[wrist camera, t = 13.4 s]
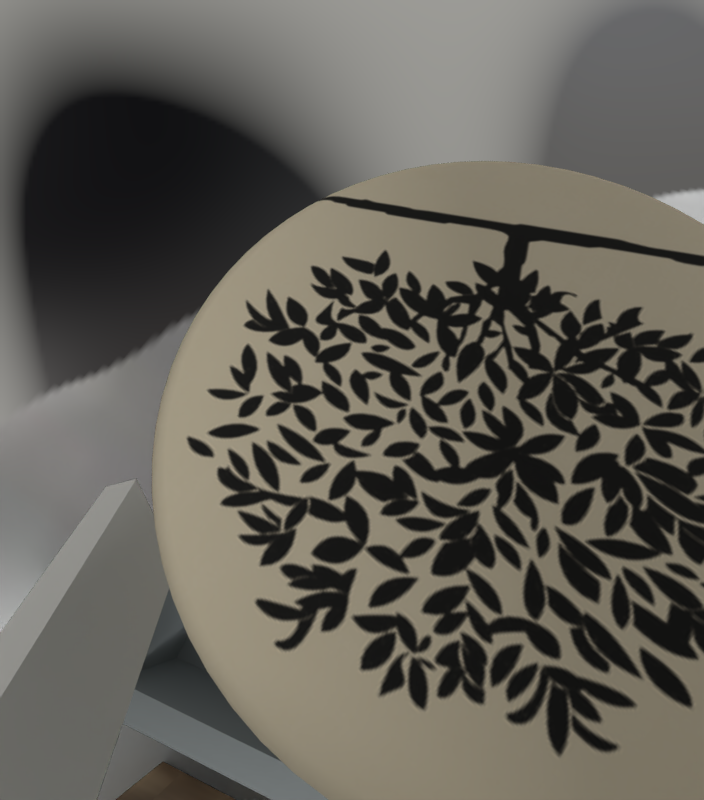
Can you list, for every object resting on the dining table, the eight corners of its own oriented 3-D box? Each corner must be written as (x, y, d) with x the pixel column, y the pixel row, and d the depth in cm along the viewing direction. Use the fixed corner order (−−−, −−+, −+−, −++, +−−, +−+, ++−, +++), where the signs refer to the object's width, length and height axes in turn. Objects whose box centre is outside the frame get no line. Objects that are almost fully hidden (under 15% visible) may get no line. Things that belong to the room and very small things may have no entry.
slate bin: (615, 439, 24) (686, 395, 18) (549, 855, 17) (627, 982, 12) (303, 347, 27) (282, 286, 21) (157, 668, 21) (75, 699, 15)
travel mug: (460, 673, 19) (977, 1277, 2) (297, 591, 21) (-48, 620, 4) (514, 502, 22) (945, 235, 5) (365, 440, 23) (319, 89, 7)
